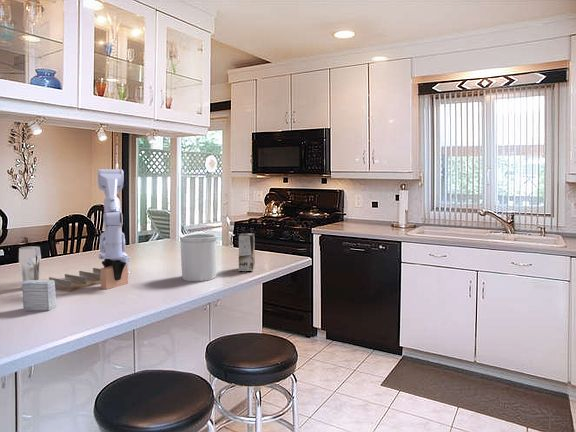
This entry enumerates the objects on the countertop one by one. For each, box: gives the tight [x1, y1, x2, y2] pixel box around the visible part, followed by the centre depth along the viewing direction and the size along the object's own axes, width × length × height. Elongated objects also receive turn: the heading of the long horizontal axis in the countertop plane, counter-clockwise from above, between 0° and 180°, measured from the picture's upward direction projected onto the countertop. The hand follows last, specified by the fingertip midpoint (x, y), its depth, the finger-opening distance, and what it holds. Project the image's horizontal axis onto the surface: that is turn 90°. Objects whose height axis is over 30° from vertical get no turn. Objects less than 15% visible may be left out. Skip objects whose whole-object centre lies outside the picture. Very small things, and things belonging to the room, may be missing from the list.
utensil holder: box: [179, 232, 218, 282], centre depth 176 cm, size 15×15×18 cm
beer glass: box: [18, 245, 42, 285], centre depth 158 cm, size 7×7×15 cm
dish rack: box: [48, 267, 101, 292], centre depth 166 cm, size 20×13×4 cm, turn 152°
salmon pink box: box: [100, 263, 129, 290], centre depth 162 cm, size 10×3×8 cm, turn 152°
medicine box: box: [21, 279, 57, 312], centre depth 133 cm, size 8×4×9 cm, turn 92°
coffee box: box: [238, 232, 256, 272], centre depth 191 cm, size 9×6×16 cm
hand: (114, 279), depth 162 cm, fingers closed on salmon pink box, 3 cm apart
